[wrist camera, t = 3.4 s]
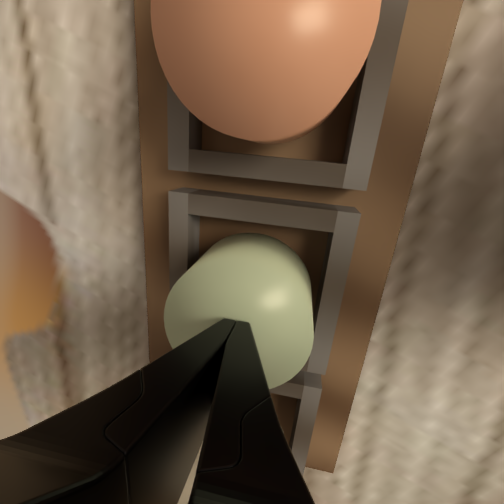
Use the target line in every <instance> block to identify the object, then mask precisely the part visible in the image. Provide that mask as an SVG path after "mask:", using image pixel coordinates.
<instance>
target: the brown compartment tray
mask: <svg viewBox="0 0 504 504" xmlns="http://www.w3.org/2000/svg"><path fill="white" fill-rule="evenodd" d="M462 3H463V0H382V1H381V8H380V15H379V21H378V25H377V29H376V33H375V37H374V40H373V43H372V45H371V48H370V51H369V53H368V56H367V58H366V60H365V62H364V64H363V66H362V68H361V70H360V72H359V74H358V75H357V77H356V78H355V80H354V81H353V83H352V85H351V86H350V88H349V89H348V91H347V92H346V93H345V95H344V96H343V98H342V99H341V101H340V102H339V104H338V105H337V107H336V108H335V109H334V111H333V112H332V113H331V114H330V115H329V117H328V118H327V119H326V120H325V121H324V122H323V123H322V124H321V125H319V126H318V127H317V128H315V129H314V130H313V131H311V132H310V133H308V134H306V135H304V136H303V137H300V138H298V139H296V140H293V141H289V142H285V143H279V144H263V143H257V142H252V141H248V140H244V139H240V138H236V137H233V136H230V135H227V134H223V133H221V132H219V131H217V130H215V129H213V128H211V127H210V126H208V125H206V124H205V123H203V122H202V121H200V120H199V119H198V118H197V117H196V116H195V115H193V114H192V113H191V112H190V111H189V110H188V109H187V108H186V107H185V105H184V104H183V103H182V102H181V101H180V99H179V98H178V97H177V95H176V94H175V92H174V91H173V90H172V88H171V86H170V84H169V82H168V80H167V79H166V77H165V74H164V72H163V70H162V67H161V65H160V62H159V59H158V55H157V52H156V49H155V44H154V39H153V33H152V26H151V13H150V11H151V0H134V12H135V35H136V58H137V81H138V105H139V128H140V151H141V174H142V197H143V220H144V243H145V267H146V290H147V313H148V336H149V359H150V363H151V362H153V361H154V360H156V359H157V358H159V357H161V356H162V355H164V354H166V353H167V352H169V351H171V350H172V347H171V345H170V343H169V340H168V337H167V335H166V331H165V326H164V308H165V303H166V300H167V297H168V295H169V293H170V291H171V289H172V287H173V286H174V285H175V283H176V282H177V281H178V280H179V279H180V278H181V277H182V276H183V275H184V274H185V273H186V272H187V271H188V270H189V269H190V268H191V267H192V266H193V265H194V264H195V263H196V262H197V261H198V260H199V259H200V258H201V257H202V256H203V255H204V254H205V253H206V252H207V251H208V250H209V249H210V248H211V247H212V246H213V245H214V244H215V243H217V242H218V241H220V240H221V239H223V238H225V237H228V236H231V235H234V234H239V233H249V232H250V233H260V234H265V235H268V236H271V237H274V238H276V239H278V240H280V241H282V242H283V243H285V244H286V245H288V246H289V247H290V248H291V249H293V250H294V251H295V252H296V253H297V255H298V256H299V257H300V258H301V260H302V261H303V263H304V264H305V266H306V268H307V271H308V274H309V276H310V281H311V292H312V310H313V328H314V340H313V346H312V350H311V354H310V356H309V358H308V360H307V362H306V363H305V365H304V366H303V368H302V369H301V370H300V371H299V372H298V373H297V374H296V375H295V376H294V377H293V378H292V379H290V380H289V381H287V382H285V383H284V384H282V385H280V386H277V387H275V388H272V389H269V390H270V394H271V398H272V400H273V403H274V407H275V410H276V413H277V416H278V419H279V422H280V425H281V427H282V430H283V432H284V435H285V438H286V440H287V443H288V445H289V447H290V450H291V452H292V454H293V456H294V458H295V461H296V463H297V465H298V467H299V470H300V472H301V474H302V476H303V473H304V468H305V467H309V468H313V469H317V470H322V471H326V472H330V473H333V471H334V468H335V464H336V461H337V457H338V453H339V450H340V446H341V442H342V439H343V435H344V432H345V428H346V424H347V421H348V417H349V413H350V410H351V406H352V402H353V399H354V395H355V392H356V388H357V384H358V381H359V377H360V373H361V370H362V366H363V363H364V359H365V355H366V352H367V348H368V344H369V341H370V337H371V334H372V330H373V326H374V323H375V319H376V315H377V312H378V308H379V304H380V301H381V297H382V294H383V290H384V286H385V283H386V279H387V275H388V272H389V268H390V265H391V261H392V257H393V254H394V250H395V246H396V243H397V239H398V235H399V232H400V228H401V225H402V221H403V217H404V214H405V210H406V206H407V203H408V199H409V196H410V192H411V188H412V185H413V181H414V177H415V174H416V170H417V167H418V163H419V159H420V156H421V152H422V148H423V145H424V141H425V137H426V134H427V130H428V127H429V123H430V119H431V116H432V112H433V108H434V105H435V101H436V98H437V94H438V90H439V87H440V83H441V79H442V76H443V72H444V69H445V65H446V61H447V58H448V54H449V50H450V47H451V43H452V39H453V36H454V32H455V29H456V25H457V21H458V18H459V14H460V10H461V7H462Z"/></svg>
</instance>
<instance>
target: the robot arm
mask: <svg viewBox="0 0 504 504" xmlns="http://www.w3.org/2000/svg"><path fill="white" fill-rule="evenodd" d="M202 442H203V443H202ZM201 445H202V448H201V452H200V456H199V461H198V465H197V469H196V476H195V478H194V482H193V486H192V490H191V494H190V497H189V501H188V504H315V503H314V501H313V498H312V496H311V494H310V492H309V489H308V487H307V485H306V483H305V481H304V478H303V476H302V474H301V472H300V470H299V467H298V465H297V463H296V461H295V458H294V456H293V454H292V452H291V450H290V447H289V445H288V443H287V440H286V438H285V435H284V433H283V430H282V428H281V425H280V422H279V419H278V416H277V413H276V410H275V407H274V403H273V400H272V398H271V394H270V390H269V387H268V383H267V380H266V376H265V373H264V369H263V366H262V362H261V359H260V356H259V352H258V349H257V345H256V342H255V338H254V335H253V331H252V328H251V325H250V323H249V322H245V321H237V322H236V320H233V319H227V318H223V319H221V320H220V321H218V322H217V323H215V324H213V325H212V326H210V327H208V328H207V329H205V330H203V331H202V332H200V333H199V334H197V335H195V336H194V337H192V338H190V339H189V340H187V341H185V342H184V343H182V344H180V345H179V346H177V347H176V348H174V349H172V350H171V351H169V352H167V353H166V354H164V355H162V356H161V357H159V358H157V359H156V360H154V361H153V362H151V363H149V364H148V365H146V366H144V367H143V368H141V370H138V371H136V372H134V373H133V374H131V375H129V376H128V377H126V378H124V379H123V380H121V381H119V382H117V383H116V384H114V385H112V386H110V387H109V388H107V389H105V390H103V391H101V392H99V393H97V394H95V395H94V396H92V397H90V398H88V399H86V400H84V401H82V402H80V403H78V404H76V405H74V406H72V407H70V408H68V409H66V410H64V411H62V412H60V413H58V414H56V415H54V416H52V417H50V418H48V419H46V420H44V421H42V422H40V423H38V424H36V425H34V426H32V427H30V428H28V429H26V430H24V431H22V432H20V433H18V434H15V435H13V436H10V437H8V438H5V439H2V440H0V504H178V501H179V499H180V496H181V494H182V491H183V489H184V486H185V484H186V482H187V479H188V477H189V474H190V472H191V469H192V467H193V464H194V462H195V459H196V457H197V454H198V452H199V449H200V447H201Z"/></svg>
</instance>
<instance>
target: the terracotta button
mask: <svg viewBox="0 0 504 504" xmlns="http://www.w3.org/2000/svg"><path fill="white" fill-rule="evenodd" d="M381 1H382V0H151V11H150V13H151V26H152V33H153V39H154V44H155V49H156V52H157V55H158V59H159V62H160V65H161V67H162V70H163V72H164V74H165V77H166V79H167V80H168V82H169V84H170V86H171V88H172V90H173V91H174V92H175V94H176V95H177V97H178V98H179V99H180V101H181V102H182V103H183V104H184V105H185V107H186V108H187V109H188V110H189V111H190V112H191V113H192V114H193V115H195V116H196V117H197V118H198V119H199V120H200V121H202V122H203V123H205V124H206V125H208V126H210V127H211V128H213V129H215V130H217V131H219V132H221V133H223V134H227V135H230V136H233V137H236V138H240V139H244V140H248V141H252V142H257V143H263V144H279V143H285V142H289V141H293V140H296V139H298V138H300V137H303V136H304V135H306V134H308V133H310V132H311V131H313V130H314V129H315V128H317V127H318V126H319V125H321V124H322V123H323V122H324V121H325V120H326V119H327V118H328V117H329V115H330V114H331V113H332V112H333V111H334V109H335V108H336V107H337V105H338V104H339V102H340V101H341V99H342V98H343V96H344V95H345V93H346V92H347V91H348V89H349V88H350V86H351V85H352V83H353V81H354V80H355V78H356V77H357V75H358V74H359V72H360V70H361V68H362V66H363V64H364V62H365V60H366V58H367V56H368V53H369V51H370V48H371V45H372V43H373V40H374V37H375V33H376V29H377V25H378V21H379V15H380V8H381Z"/></svg>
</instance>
